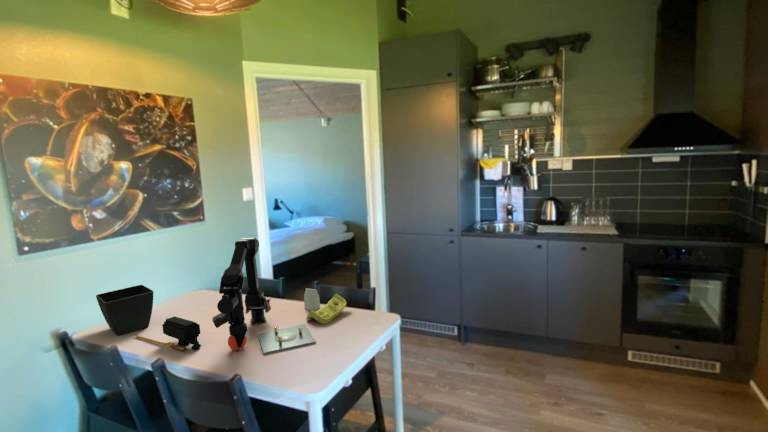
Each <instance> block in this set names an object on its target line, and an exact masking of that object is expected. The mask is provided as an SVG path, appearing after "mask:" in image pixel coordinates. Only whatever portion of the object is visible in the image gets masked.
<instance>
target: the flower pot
mask: <svg viewBox="0 0 768 432" xmlns="http://www.w3.org/2000/svg"><path fill="white" fill-rule="evenodd" d="M95 297H96V301H97V303H98V306H99V308H100V312H101V314H102V316H103V318H104V320H105V322H106V324H107V325H108V327H109V329H110V330H111V331H112V332H113V334H115V335H116V336H120V335H124V334H127V333H132V332H134V331H138V330H139V331H140V330H142V329H145V328H148V327H149V326H150V324H151V323H150V321H151V318H152V313H153V306H154V290H153V289H150V288H149V287H147V286H145V285H144V284H139V285H134V286H133V285H132V286H129V287H125V288H121V289H116V290H112V291H107V292H103V293H99V294H95Z"/></svg>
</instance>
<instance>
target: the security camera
mask: <svg viewBox="0 0 768 432" xmlns="http://www.w3.org/2000/svg"><path fill="white" fill-rule="evenodd" d="M161 326H162V332H163V333H162V334H164V335H165V336H167V337H171V338H174V339H176V340H177V346H180V347H183V348H186V347H187V346H189V345H191V347H190V349H191V350H193V351H196V350H199V349H200V348H201V347H202V344H200V343H199V342H200V341H198V337H200V334H201V325H200V324H199V323H197V322H196V321H192V320H190V319H189V320H188V319H185V318H181V317H178V316H176V315H175V316H172V317H169V318H166V319H165V321H164V322H163V323H162V324H161Z"/></svg>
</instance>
